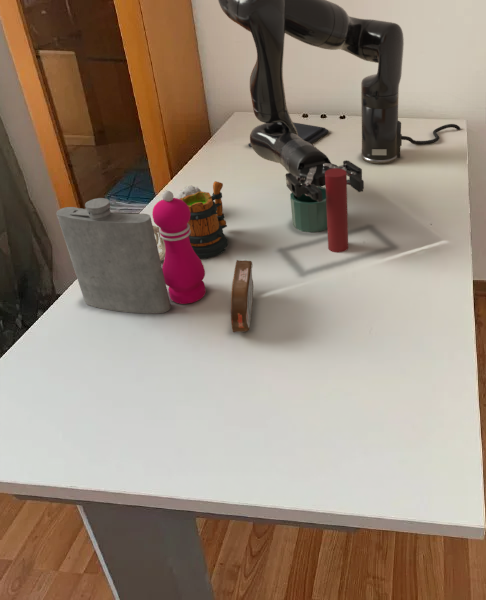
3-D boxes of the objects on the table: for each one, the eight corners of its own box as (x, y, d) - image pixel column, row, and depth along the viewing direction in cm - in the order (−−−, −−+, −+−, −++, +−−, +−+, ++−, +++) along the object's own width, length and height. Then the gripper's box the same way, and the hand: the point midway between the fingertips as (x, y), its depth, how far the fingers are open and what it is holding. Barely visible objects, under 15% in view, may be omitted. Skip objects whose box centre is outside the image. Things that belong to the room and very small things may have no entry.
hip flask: (173, 303, 110) (150, 200, 98) (163, 317, 106) (138, 211, 95) (91, 294, 112) (59, 191, 101) (78, 307, 109) (44, 203, 97)
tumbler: (322, 212, 138) (320, 182, 134) (340, 228, 132) (339, 197, 128) (286, 220, 135) (283, 191, 131) (303, 237, 129) (300, 207, 125)
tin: (239, 290, 113) (234, 250, 108) (257, 290, 113) (252, 249, 108) (232, 343, 101) (225, 300, 96) (252, 342, 101) (246, 299, 96)
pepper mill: (216, 288, 114) (198, 185, 102) (193, 309, 108) (171, 203, 97) (183, 280, 116) (162, 179, 105) (158, 300, 110) (133, 196, 99)
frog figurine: (188, 225, 134) (182, 195, 130) (173, 213, 138) (167, 184, 134) (213, 216, 137) (208, 186, 133) (198, 205, 141) (192, 176, 137)
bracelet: (128, 270, 119) (118, 233, 114) (158, 251, 124) (150, 215, 120) (143, 275, 117) (134, 238, 112) (173, 256, 123) (166, 220, 118)
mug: (208, 264, 120) (199, 210, 114) (167, 252, 124) (155, 199, 117) (248, 235, 130) (241, 183, 123) (208, 224, 134) (200, 174, 127)
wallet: (292, 149, 164) (245, 139, 170) (293, 156, 165) (246, 146, 171) (331, 125, 178) (286, 117, 184) (331, 132, 179) (287, 124, 185)
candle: (342, 240, 127) (340, 166, 118) (351, 249, 124) (350, 174, 115) (324, 245, 125) (321, 170, 116) (333, 254, 123) (330, 178, 113)
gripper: (336, 172, 133) (374, 202, 121) (274, 186, 127) (307, 219, 115) (335, 138, 128) (374, 165, 117) (270, 151, 123) (305, 181, 111)
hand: (341, 192), depth 116 cm, fingers open, 8 cm apart
